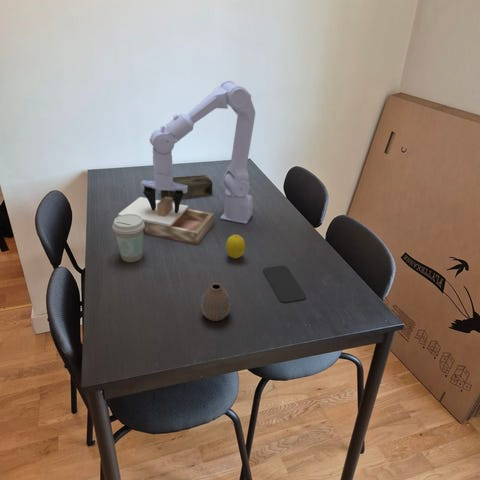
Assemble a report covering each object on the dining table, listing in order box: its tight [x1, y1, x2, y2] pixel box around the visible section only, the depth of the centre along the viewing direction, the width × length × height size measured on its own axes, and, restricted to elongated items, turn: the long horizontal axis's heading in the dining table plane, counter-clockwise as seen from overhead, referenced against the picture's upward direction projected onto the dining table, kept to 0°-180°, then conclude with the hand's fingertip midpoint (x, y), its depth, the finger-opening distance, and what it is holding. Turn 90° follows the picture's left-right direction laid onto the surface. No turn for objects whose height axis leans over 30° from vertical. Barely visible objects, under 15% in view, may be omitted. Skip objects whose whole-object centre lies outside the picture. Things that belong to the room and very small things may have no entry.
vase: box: [200, 283, 231, 322], centre depth 91 cm, size 7×7×9 cm
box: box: [143, 208, 214, 245], centre depth 126 cm, size 18×14×4 cm
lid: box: [117, 196, 189, 227], centre depth 126 cm, size 18×14×5 cm
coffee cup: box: [112, 214, 145, 263], centre depth 109 cm, size 8×9×12 cm
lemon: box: [225, 233, 246, 259], centre depth 112 cm, size 6×6×8 cm
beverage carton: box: [160, 174, 213, 201], centre depth 149 cm, size 8×19×7 cm, turn 112°
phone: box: [262, 265, 307, 304], centre depth 105 cm, size 7×1×15 cm
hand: (165, 210), depth 125 cm, fingers open, 7 cm apart
